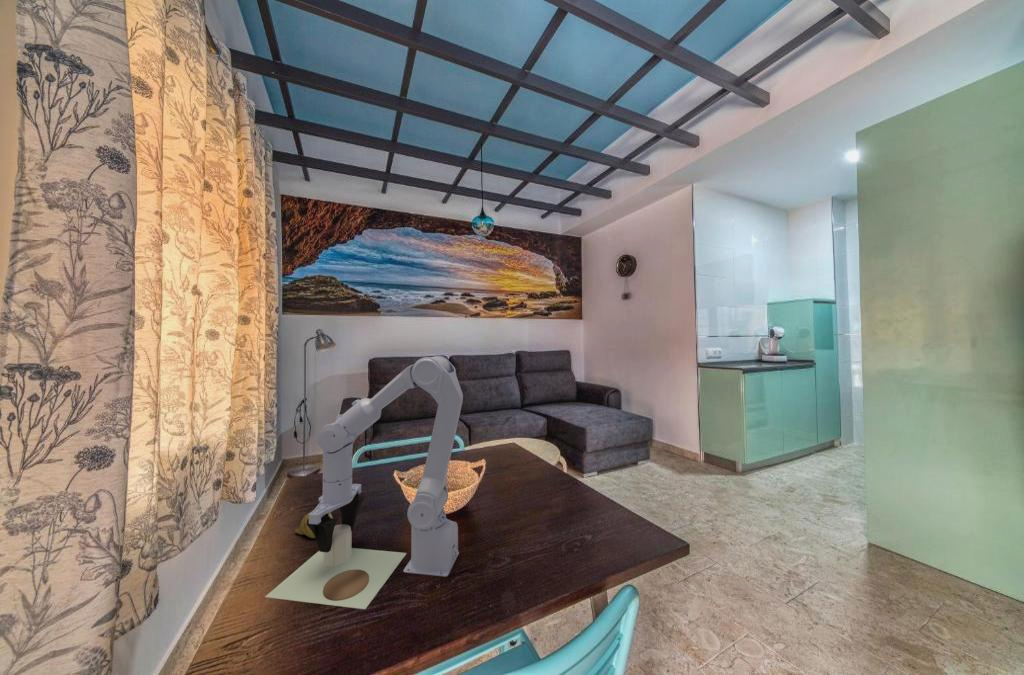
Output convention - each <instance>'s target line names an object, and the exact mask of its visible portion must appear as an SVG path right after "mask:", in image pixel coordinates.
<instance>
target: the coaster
mask: <svg viewBox="0 0 1024 675" xmlns="http://www.w3.org/2000/svg"><path fill="white" fill-rule="evenodd" d="M368 582H369V575H368V573H367V572H365V571H363V570H358V569H355V570H348V571H344V572H342V573H339V574H337V575H335V576H334V577H332V578H331V579H330V580H329V581H328V582H327V583H326V584H325V586H324V588H323V595H324V597H325V598H326V599H329V600H333V601H339V600H344V599H348V598H351V597H353V596H355V595H357V594H358V593H360V592H361V591H362V590H363V589H364V588H365V587H366V586H367V584H368Z"/></svg>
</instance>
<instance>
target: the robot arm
mask: <svg viewBox="0 0 1024 675" xmlns="http://www.w3.org/2000/svg"><path fill="white" fill-rule="evenodd" d="M418 387H419V388H421V389H423V390H424V391H425V392H427V393H428V394H430V395H431V397H432V398H433V400H435V402H436V403H437V408H436V413H435V414H436V415H435V417H434V422H433V428H432V433H431V437H430V440H429V441H430V442H429V447H428V450H427V455H426V461H425V463H424V464H425V465H424V469H423V473H422V476H421V477H422V478H421V480H420V483H419V485H418V487H417V490H416V494H415V497H414V500H412V502H411V503H410V504H409V506H408V509H407V513H406V516H407V519H408V522H409V524H410V526H411V527H410V528H411V543H410V544H411V547H410V548H411V549H410V550H411V551H410V552H411V554H410V555H411V556H410V557H411V558H410V560H409V561H408V562H407V564H406V566H405V567H404V569H403V573H407V574H415V575H416V574H418V575H426V576H437V577H448V576H449V575H450V573H451V570H452V569H453V566H454V564H455V562H456V561H457V558H458V556H459V555H460V551H459V526H458V523H457V521H453V520H451V519H448V518H447V515H446V512H445V509H444V507H445V505H446V504H447V501H448V500H449V492H448V489H447V488H448V487H447V485H448V477H447V474H448V469H449V467H450V466H449V465H450V460H451V458H452V457H451V456H452V453H453V452H452V451H453V448H454V442H455V438H456V435H457V429H458V424H459V420H460V417H461V416H460V415H461V411H462V406H463V403H464V402H463V401H464V393H463V390H462V388H461V385H460V382H459V379H458V376H457V371H456V367H455V366H454V365H453V364H452V363H451V362H450V360H448V359H447V358H446V357H445V356H442V355H434V356H432V357H427V356H426V357H421V358H419V359H417V360H416V361H415V363H414V364H411V365H408V366H407V367H405V369H403V370H402V371H400V373H399V374H398V375H396V376H395V377H394V378H392V379H391V381H389V382H388V383H387V384H386V385H385V386H384V387H382V388H381V389H380V390H379V391H378V392H377V393H376V394H374V396H373V397H371V398H366V397H365V398H363V397H362V398H361V399H359V398H358V399H356V400H354V401H353V402H352V403H351V405H352V406H351V407H350V408H349V409H347V410H346V411H345V412H344V413H342V414H341V413H340V414H337V416H335V421H334V422H333V423H329V424H328V423H327V424H325V425H323V427H322V428H321V429H320V431H319V432H318V433H317V436H316V439H317V444H318V447H319V449H321V450H322V495H320V497H318V502H319V503H318V504H317V506H316V507H315V508H314V509H313V510H312V512H311V511H310V512H311V513H310V512H309V513H310V514H309V518H308V519H307V526H308V527H309V528H310V529H311V531H312V532H313V534H314V536H315V538H314V539H315V540H316V544H317V547H318V551H320V552H327V553H328V552H329V551H330V550H331V546H332V536H333V531H334V527H335V526H336V523H337V522H338V520H339V519H338V518H330V516H329V513H331V514H332V512H333V511H335V510H337V509H339V511H340V514H341V524H346V525H349V526H350V527H351V531H352V532H353V531H354V528H355V525H356V521H357V518H358V513H359V511H360V509H361V506H362V504H363V503H364V500H365V496H364V495H361V493H362V484H360V483H353V448H354V443H355V441H356V440H357V438H358V437H359V436H360V435H361V434H363V433H364V432H365V431H366V430H367V429H369V427H371V426H372V425H374V423H376V422H377V421H378V420H379V419H381V416H382V409H383V408H385V407H386V406H388V405H389V404H391V403H392V402H393V401H395V400H396V399H397V398H399V397H400V396H401V395H402V394H404V393H405V392H407V390H409V389H415V388H418Z"/></svg>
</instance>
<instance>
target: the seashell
mask: <svg viewBox="0 0 1024 675" xmlns="http://www.w3.org/2000/svg"><path fill="white" fill-rule="evenodd" d="M312 511H313V510H312ZM312 511H310V512H308V513H307V514H306V515H305V516H303V517H302V520H301V522H300V524H299V526H298V528H296V529H295V530H294V533H295V534H298V535H301V536H303V535H305V536H306V537H308V538H310V539H316V538H315V536H314V534H313V532H312V531H311V529H310V528H309V527H308V526H307V519H308V518H309V514H310V513H311V512H312ZM329 516H330V518H333V515H332V512H331V513H329ZM333 519H334V518H333Z"/></svg>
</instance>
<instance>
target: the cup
mask: <svg viewBox="0 0 1024 675" xmlns="http://www.w3.org/2000/svg"><path fill="white" fill-rule="evenodd" d="M352 532H353V531H351V527H350V526H349V525H346V524H342V523H340V524H337V525H336V524H335V527H334V531H333V536H332V546H331V550H330V551H329V552H328V553H327V552H323V562H324V566H328V567H336V566H338V565H341V564H344V563H346V562H347V561H348V560H349V559H350V558H351V548H352V540H353V539H352V536H353V535H352V534H353V533H352Z"/></svg>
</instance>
